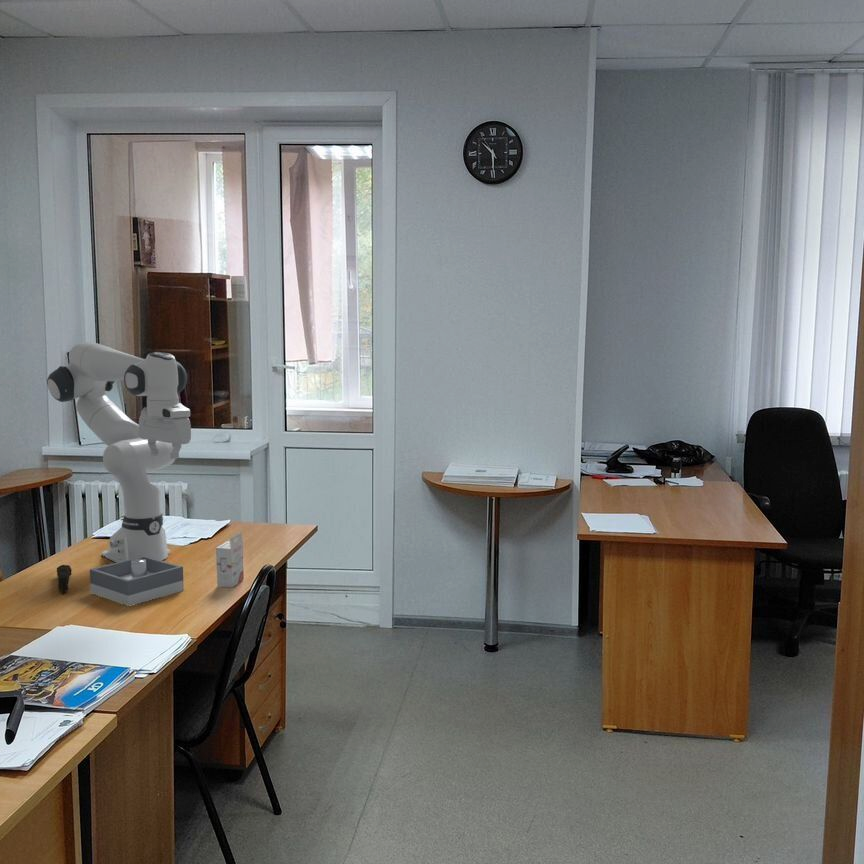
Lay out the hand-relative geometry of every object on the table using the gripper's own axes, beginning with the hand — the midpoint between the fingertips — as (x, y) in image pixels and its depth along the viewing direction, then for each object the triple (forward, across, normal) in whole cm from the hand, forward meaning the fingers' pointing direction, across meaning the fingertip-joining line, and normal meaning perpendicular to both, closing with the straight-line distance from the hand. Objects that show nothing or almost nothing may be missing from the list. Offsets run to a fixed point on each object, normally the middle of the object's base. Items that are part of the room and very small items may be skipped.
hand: (164, 456), depth 261 cm
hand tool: (+38, -20, -21) cm, 47 cm away
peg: (+37, +2, -11) cm, 39 cm away
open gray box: (+37, +2, -12) cm, 39 cm away
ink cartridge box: (+37, +16, +10) cm, 42 cm away
